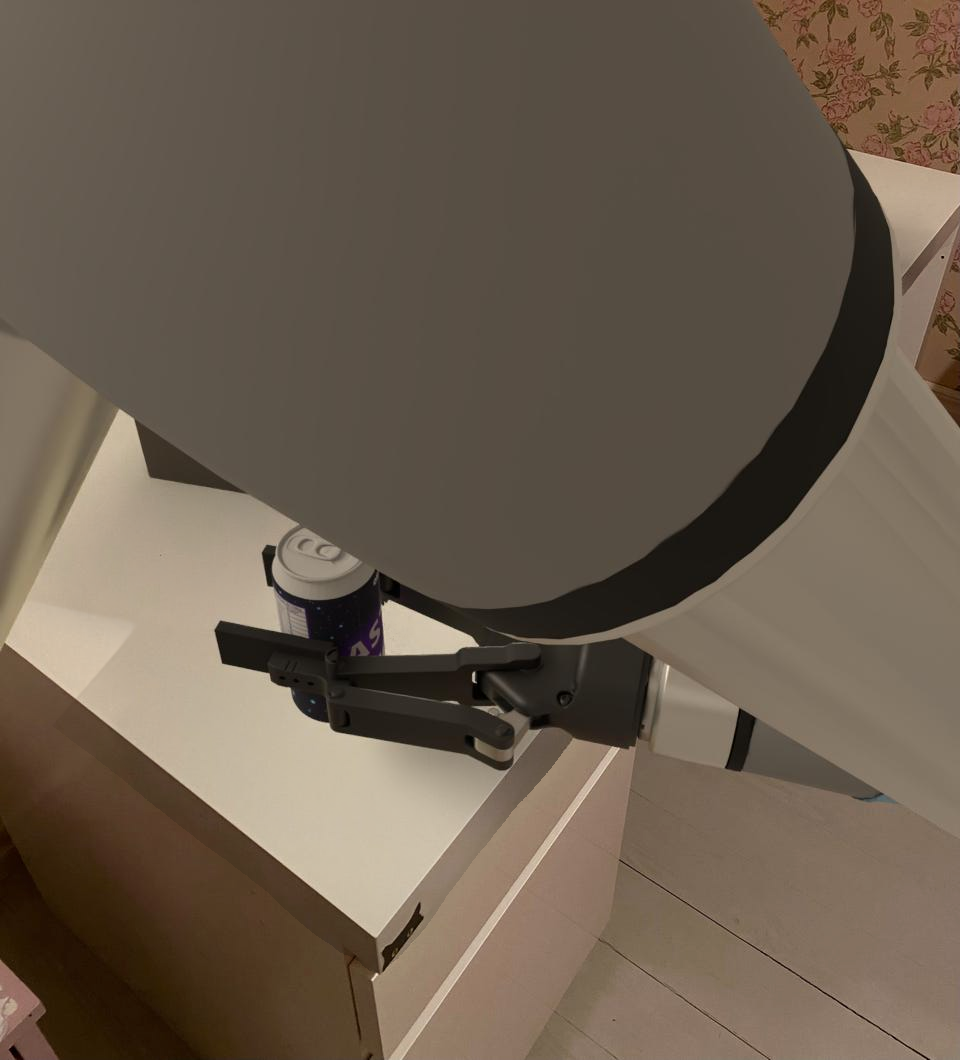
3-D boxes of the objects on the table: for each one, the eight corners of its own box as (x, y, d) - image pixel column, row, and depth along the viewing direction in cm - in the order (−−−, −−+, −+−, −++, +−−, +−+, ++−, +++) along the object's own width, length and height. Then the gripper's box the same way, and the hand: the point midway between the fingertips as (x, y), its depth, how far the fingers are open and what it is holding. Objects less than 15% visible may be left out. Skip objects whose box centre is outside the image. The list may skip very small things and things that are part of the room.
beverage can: (362, 745, 60) (346, 597, 52) (275, 716, 62) (247, 568, 54) (403, 675, 64) (394, 527, 56) (320, 650, 66) (300, 503, 58)
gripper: (619, 874, 51) (182, 774, 55) (663, 609, 64) (311, 545, 69) (635, 782, 46) (154, 680, 50) (680, 516, 60) (298, 453, 64)
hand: (245, 602), depth 59 cm, fingers closed on beverage can, 6 cm apart
